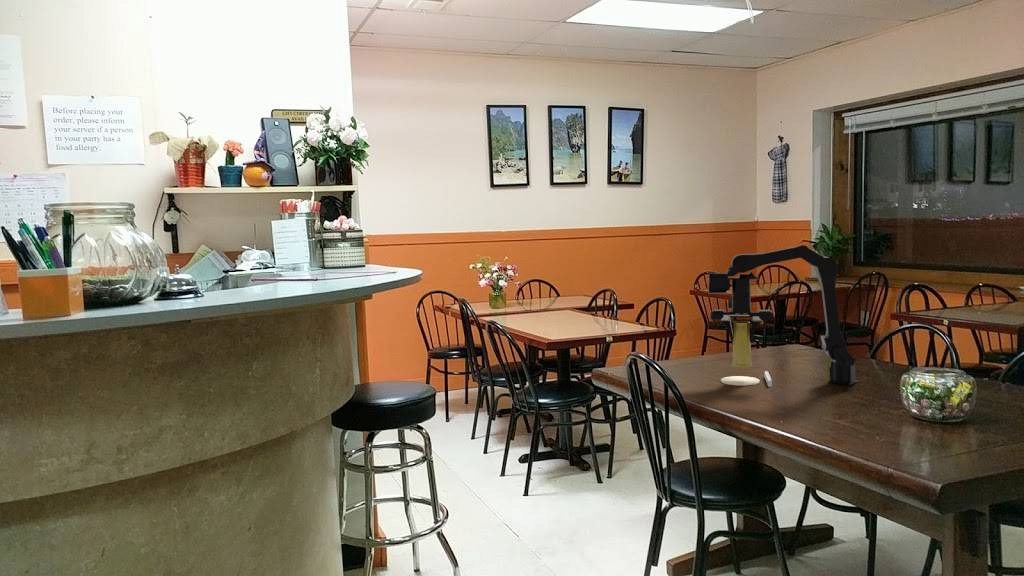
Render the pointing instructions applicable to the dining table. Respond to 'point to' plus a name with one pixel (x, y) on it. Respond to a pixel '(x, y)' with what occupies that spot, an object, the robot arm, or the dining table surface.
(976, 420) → the dining table surface
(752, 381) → the mat
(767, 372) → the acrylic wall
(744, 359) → the vase
